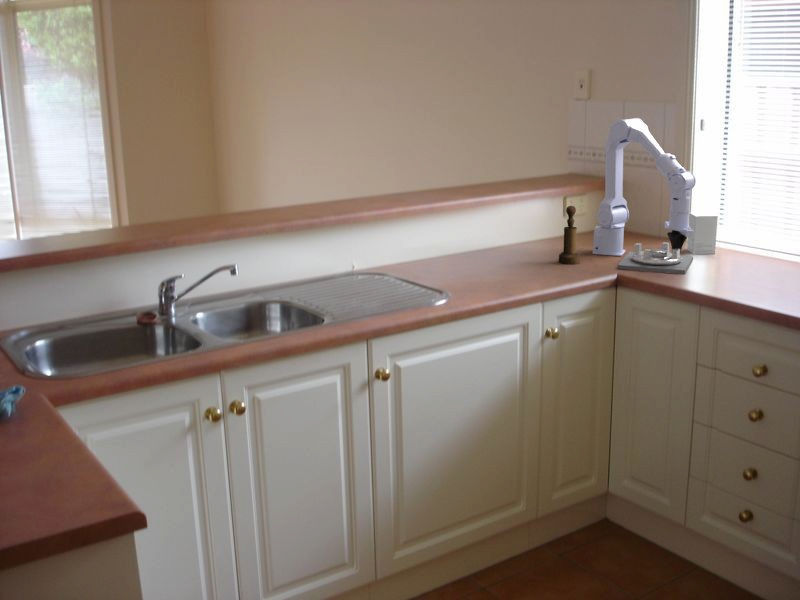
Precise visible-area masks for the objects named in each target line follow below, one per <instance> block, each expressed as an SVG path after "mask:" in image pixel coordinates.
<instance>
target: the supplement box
mask: <svg viewBox="0 0 800 600" xmlns="http://www.w3.org/2000/svg"><path fill="white" fill-rule="evenodd" d="M718 217H719V216H718V215H716V214H715V213H713V212H711V211H709V212H708V211H704V212H702V211H701V212H689V223H688V226H689V227H690V229H691V230H693V237H687V245H686V246H687V247H686V249H687V251H688V252H690V253H692V255H697V254H698V255H714V254H716V243H717V233H718V232H717V231H718V220H719V219H718Z"/></svg>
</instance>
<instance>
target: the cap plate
mask: <svg viewBox="0 0 800 600" xmlns="http://www.w3.org/2000/svg"><path fill="white" fill-rule="evenodd" d="M633 253H634V251H628V253H627V254H626V255H625V256H624V258H622V259H621V261H620V262H619V263H618V264H617V269H618V270H627V271H628V270H629V271H638V270H641V271H640V272H651V271H655V272H654V273H663V272H665V273H666V274H676V273H679V274H678V275H686V274H685V273H687V271H688V270H689V267H690V266H691V264H692V263H693V261H694V255H682V254H680V255H681V257H682V258H681V262H680V263H678V264H673V265H648V264H642V263H638V262H635V261H633V260H632V254H633ZM665 273H664V274H665Z"/></svg>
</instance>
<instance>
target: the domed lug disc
mask: <svg viewBox="0 0 800 600" xmlns="http://www.w3.org/2000/svg"><path fill="white" fill-rule="evenodd" d="M670 247H671V242H666V241H664V242H661V248H648V249H647V248H646V249H643V243H642V242H641V243H640V242H636V243H634V246H633V252H634V253H633V254H632V260H633V261H635V262H638V263H642V264H648V265H673V264H678V263H680V262H681V258H682V257H681V255H682V254H680V249H678V248H674V249H672V248H670ZM670 249H671V250H670ZM670 251H671V252H670Z"/></svg>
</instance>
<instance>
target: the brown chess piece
mask: <svg viewBox="0 0 800 600" xmlns="http://www.w3.org/2000/svg"><path fill="white" fill-rule="evenodd" d="M565 212H566V214H567V216H568V219H566V222H567V226H564V228H563V251H562V252H561V253H559V254H558V263H560V264H563V265H564V264H565V265H577V264H579V263H581V254H579V252H577V232H578V230H577V229H578V228H577V227H576V226H574V224H575V219H574V215H576V212H577V208H576V207H575V205H568V206H567V207H566V209H565Z"/></svg>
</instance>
